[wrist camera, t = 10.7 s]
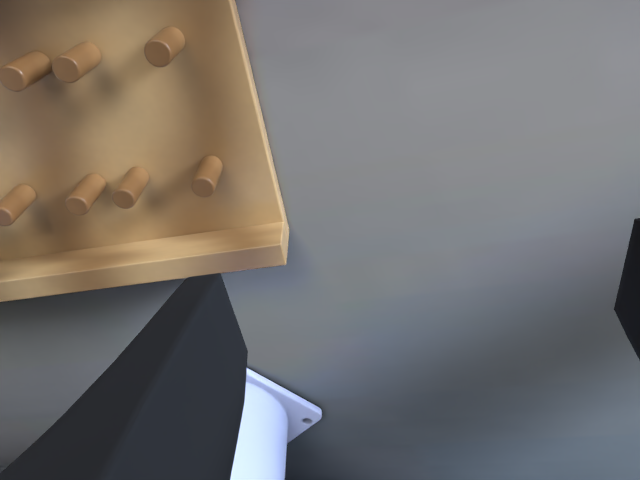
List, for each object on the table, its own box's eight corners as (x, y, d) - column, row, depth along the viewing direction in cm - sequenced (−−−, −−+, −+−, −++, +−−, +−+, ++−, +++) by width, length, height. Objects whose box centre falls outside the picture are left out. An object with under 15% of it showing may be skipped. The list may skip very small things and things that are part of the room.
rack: (-62, 278, 22) (-103, 318, 20) (-287, -18, 16) (-385, -5, 13) (289, 230, 21) (286, 268, 19) (207, -120, 14) (186, -124, 12)
